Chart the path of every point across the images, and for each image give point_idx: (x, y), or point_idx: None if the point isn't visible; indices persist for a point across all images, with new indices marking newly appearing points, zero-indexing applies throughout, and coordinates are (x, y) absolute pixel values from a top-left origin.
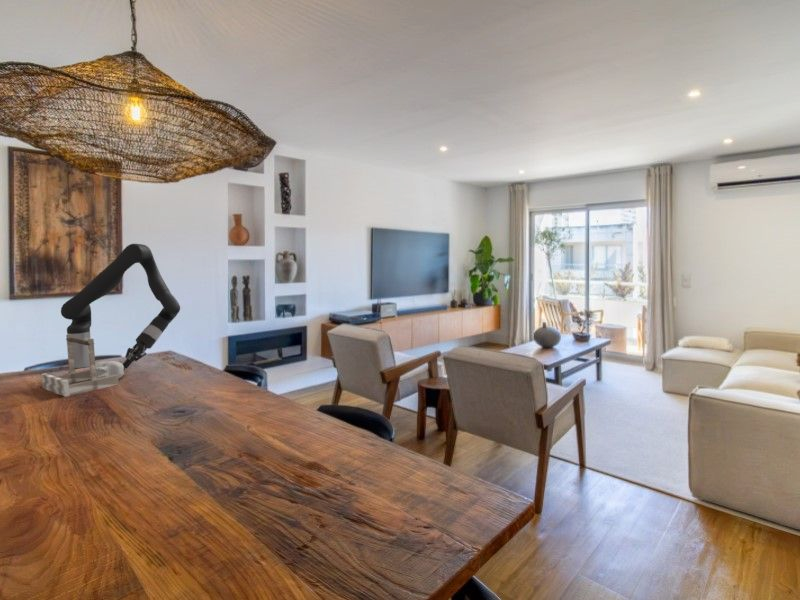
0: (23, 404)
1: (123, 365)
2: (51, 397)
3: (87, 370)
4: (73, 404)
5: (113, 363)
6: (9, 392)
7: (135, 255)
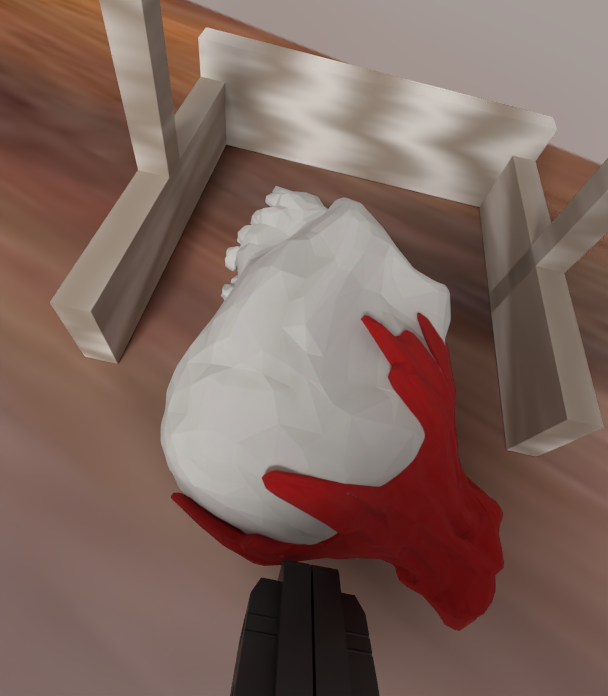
0: None
1: (285, 567)
2: None
3: (565, 353)
4: (40, 67)
5: (218, 312)
6: None
7: None
